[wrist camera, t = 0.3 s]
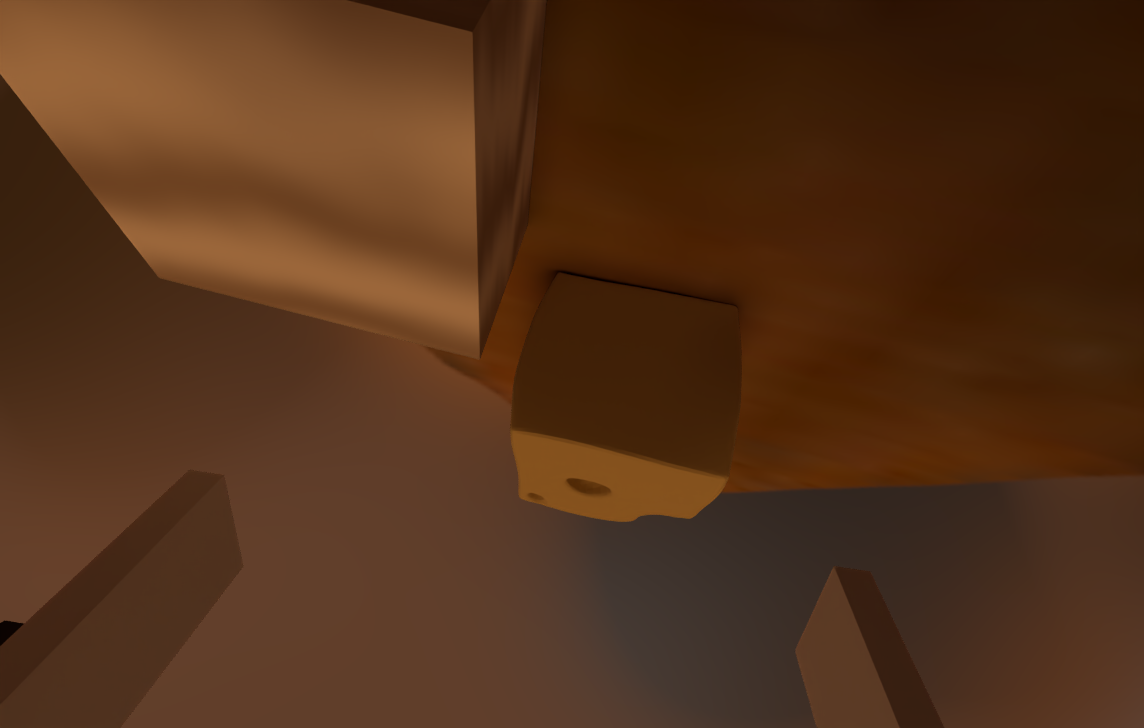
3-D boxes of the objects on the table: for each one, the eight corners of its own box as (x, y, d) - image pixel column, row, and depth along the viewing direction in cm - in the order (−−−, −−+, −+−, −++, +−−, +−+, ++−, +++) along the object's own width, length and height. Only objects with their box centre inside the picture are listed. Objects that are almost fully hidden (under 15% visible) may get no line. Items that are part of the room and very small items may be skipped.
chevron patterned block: (82, -240, 17) (-157, -128, 12) (556, -119, 17) (472, 32, 12) (252, 155, 29) (159, 277, 25) (527, 225, 29) (479, 359, 24)
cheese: (703, 394, 39) (687, 543, 34) (546, 362, 40) (506, 502, 34) (751, 299, 30) (738, 481, 25) (547, 259, 31) (493, 428, 25)
